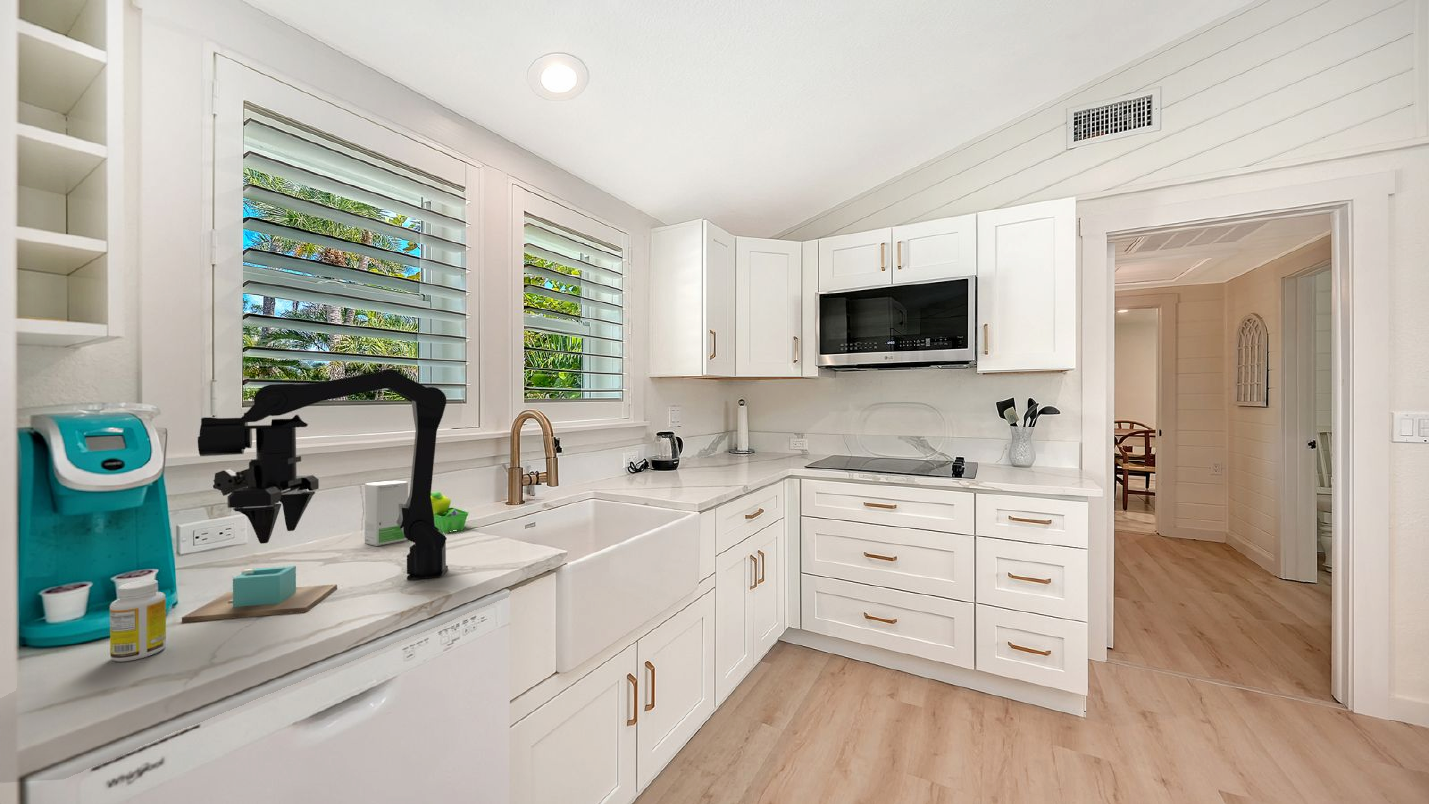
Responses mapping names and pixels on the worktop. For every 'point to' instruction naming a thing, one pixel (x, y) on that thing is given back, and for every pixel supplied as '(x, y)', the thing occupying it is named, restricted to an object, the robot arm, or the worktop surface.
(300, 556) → the worktop surface
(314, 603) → the base plate
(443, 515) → the fruit basket
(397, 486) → the skincare box
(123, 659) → the supplement bottle
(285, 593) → the teal hollow block
